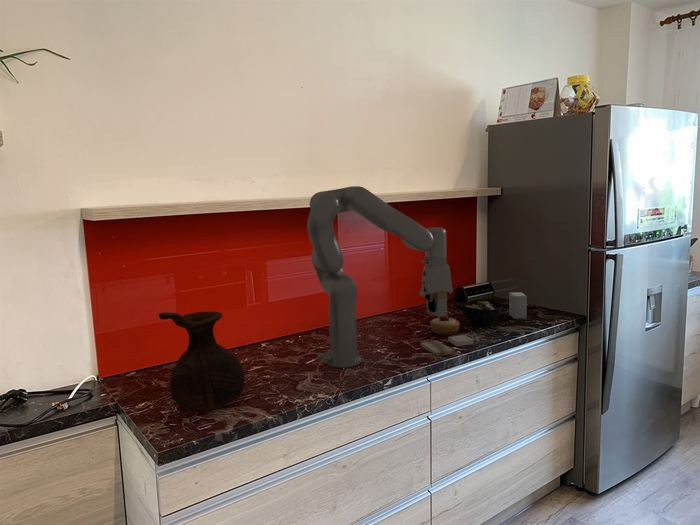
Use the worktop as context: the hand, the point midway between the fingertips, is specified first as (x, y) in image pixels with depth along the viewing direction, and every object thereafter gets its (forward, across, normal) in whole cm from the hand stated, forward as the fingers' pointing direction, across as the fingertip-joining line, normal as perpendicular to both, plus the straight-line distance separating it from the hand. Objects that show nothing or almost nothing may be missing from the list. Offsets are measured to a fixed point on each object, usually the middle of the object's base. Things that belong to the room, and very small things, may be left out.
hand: (436, 310), depth 195 cm
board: (+15, 0, 0) cm, 15 cm away
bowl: (+15, +34, +22) cm, 43 cm away
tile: (+14, +9, +4) cm, 17 cm away
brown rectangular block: (+1, 0, 0) cm, 1 cm away
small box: (+16, +55, +26) cm, 62 cm away
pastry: (+15, +14, +18) cm, 27 cm away
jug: (+15, -84, -16) cm, 87 cm away
